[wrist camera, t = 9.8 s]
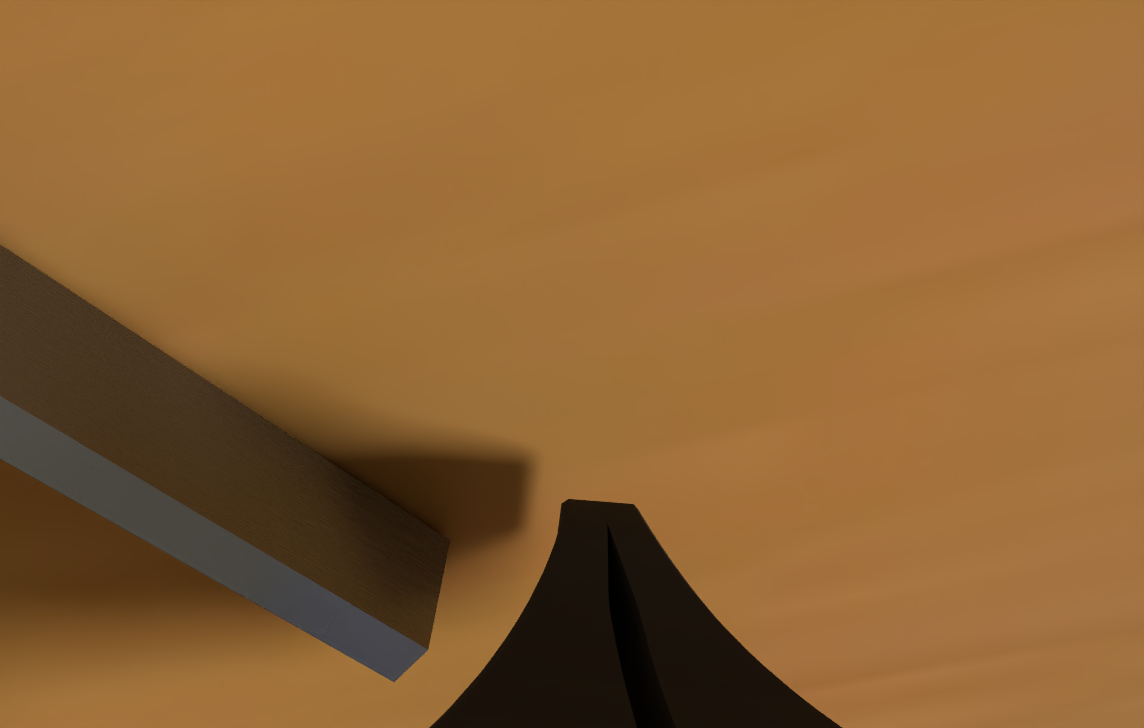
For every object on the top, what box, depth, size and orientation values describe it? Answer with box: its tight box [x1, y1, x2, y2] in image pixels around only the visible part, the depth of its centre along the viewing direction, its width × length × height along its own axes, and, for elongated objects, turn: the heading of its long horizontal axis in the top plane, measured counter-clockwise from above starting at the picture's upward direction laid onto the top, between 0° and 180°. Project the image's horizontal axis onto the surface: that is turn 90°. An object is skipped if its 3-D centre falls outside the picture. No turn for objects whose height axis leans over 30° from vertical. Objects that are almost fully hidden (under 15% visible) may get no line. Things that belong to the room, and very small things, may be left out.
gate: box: [0, 245, 450, 682], centre depth 12 cm, size 12×1×3 cm, turn 48°
